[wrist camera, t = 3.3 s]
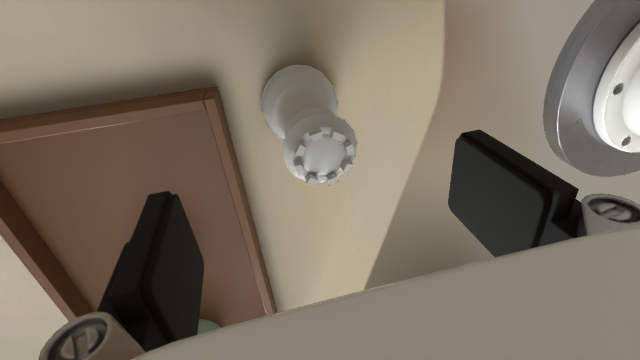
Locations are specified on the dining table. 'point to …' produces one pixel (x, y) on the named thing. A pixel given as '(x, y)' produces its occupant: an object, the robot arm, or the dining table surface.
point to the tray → (129, 197)
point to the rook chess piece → (309, 124)
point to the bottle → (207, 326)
